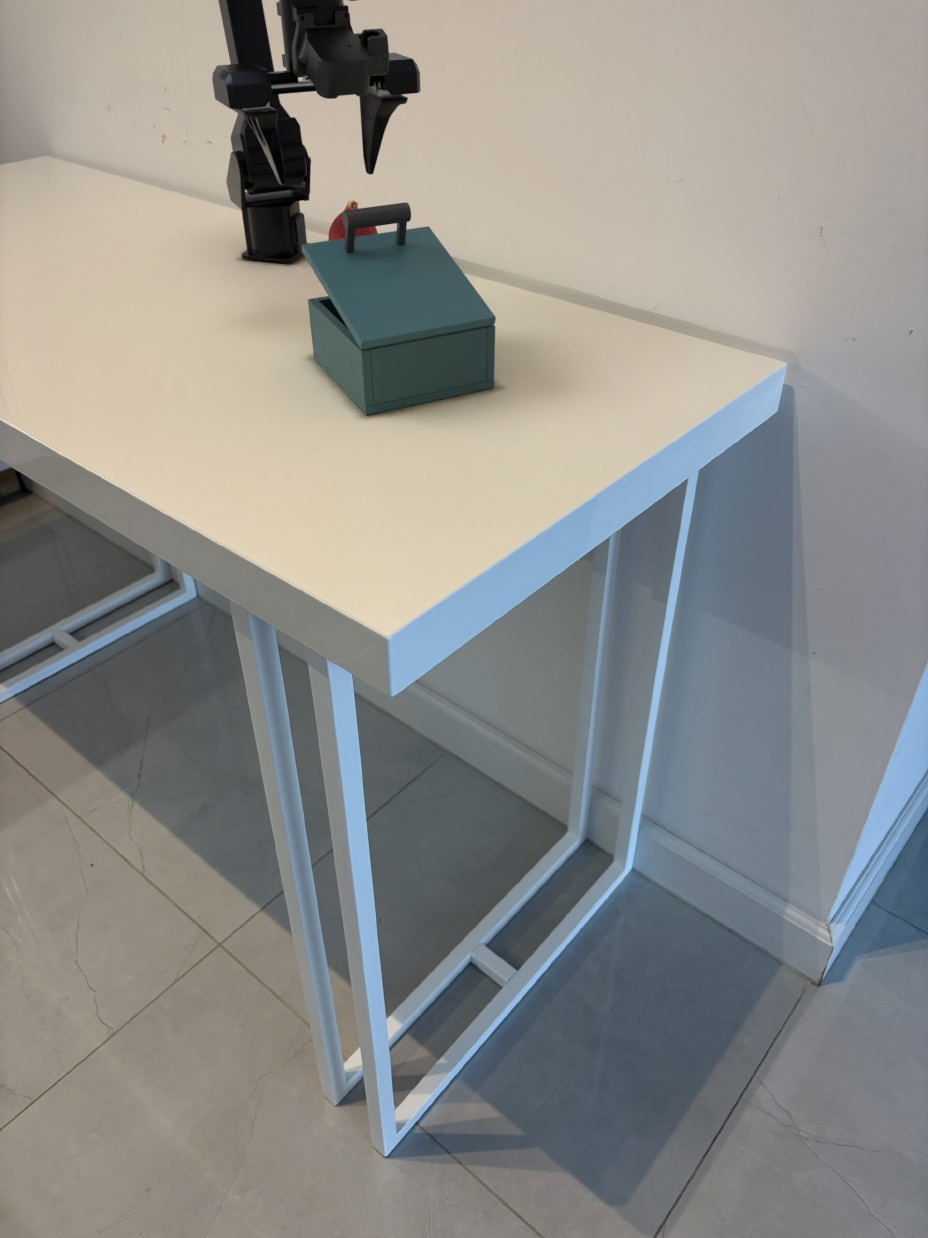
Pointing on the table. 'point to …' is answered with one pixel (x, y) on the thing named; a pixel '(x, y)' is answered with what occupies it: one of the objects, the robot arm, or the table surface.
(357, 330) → the cool box lid
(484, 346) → the cool box
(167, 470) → the table surface
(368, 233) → the onion
